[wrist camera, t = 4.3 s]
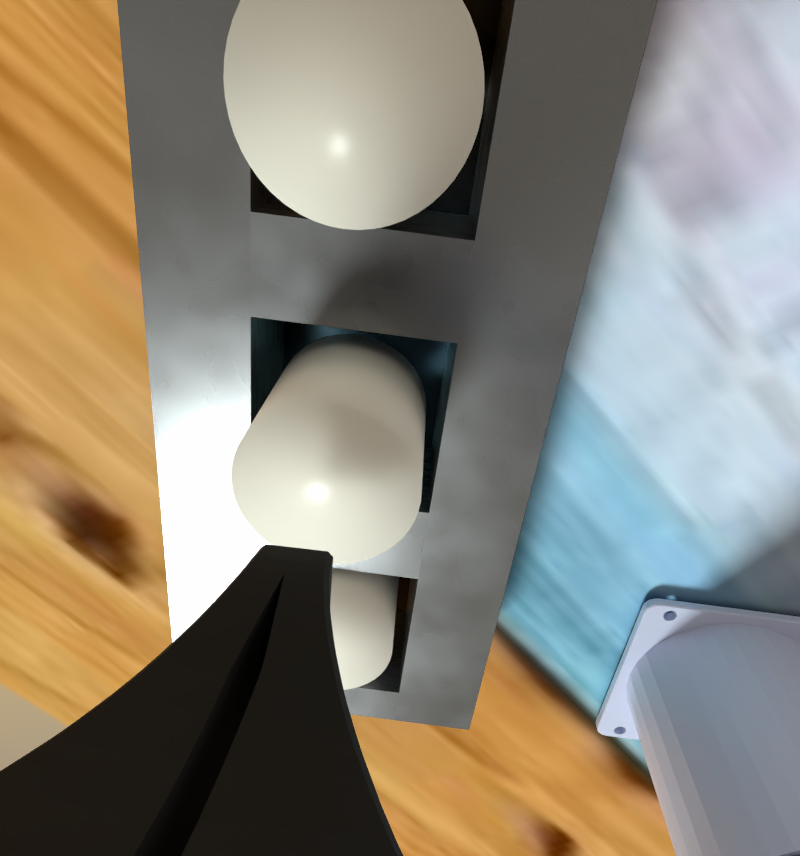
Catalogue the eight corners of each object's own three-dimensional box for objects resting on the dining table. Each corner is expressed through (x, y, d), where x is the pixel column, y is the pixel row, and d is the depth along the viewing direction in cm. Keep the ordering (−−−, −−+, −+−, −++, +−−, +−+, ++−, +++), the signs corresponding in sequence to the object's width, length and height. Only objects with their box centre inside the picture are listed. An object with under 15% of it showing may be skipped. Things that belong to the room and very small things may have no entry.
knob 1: (488, -2, 13) (508, -52, 9) (456, 209, 15) (461, 244, 11) (287, -29, 13) (220, -89, 9) (282, 186, 15) (226, 213, 11)
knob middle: (436, 344, 17) (434, 416, 13) (416, 477, 19) (409, 574, 15) (279, 324, 17) (229, 389, 13) (276, 459, 19) (232, 551, 15)
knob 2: (406, 518, 23) (399, 603, 19) (394, 604, 25) (385, 698, 21) (291, 503, 23) (260, 585, 19) (288, 591, 25) (259, 681, 21)
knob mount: (629, -65, 15) (688, -121, 11) (465, 646, 26) (469, 729, 23) (182, -123, 15) (100, -196, 11) (212, 613, 26) (176, 691, 23)
